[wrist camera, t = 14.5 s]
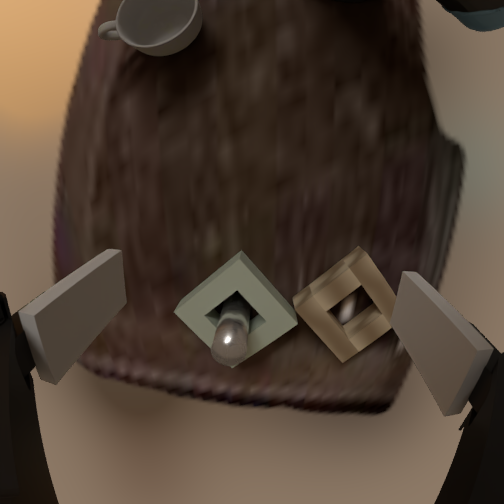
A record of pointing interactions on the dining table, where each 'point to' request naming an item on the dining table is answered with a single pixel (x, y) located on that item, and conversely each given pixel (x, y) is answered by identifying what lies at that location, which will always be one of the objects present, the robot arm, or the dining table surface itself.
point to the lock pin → (232, 331)
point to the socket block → (252, 289)
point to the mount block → (338, 287)
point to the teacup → (155, 25)
